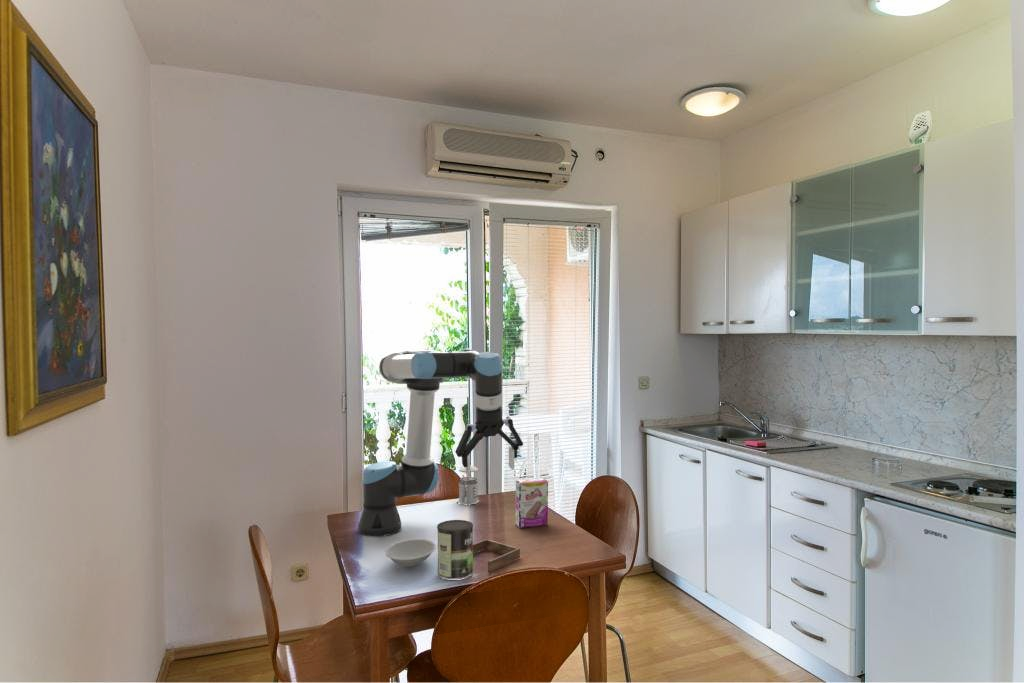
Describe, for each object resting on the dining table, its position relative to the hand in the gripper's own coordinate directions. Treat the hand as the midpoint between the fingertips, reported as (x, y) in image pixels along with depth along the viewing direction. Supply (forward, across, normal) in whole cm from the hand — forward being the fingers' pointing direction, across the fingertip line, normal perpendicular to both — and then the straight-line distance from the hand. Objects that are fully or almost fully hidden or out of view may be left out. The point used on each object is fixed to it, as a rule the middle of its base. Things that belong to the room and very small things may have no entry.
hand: (490, 471), depth 174 cm
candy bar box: (+38, +22, +22) cm, 49 cm away
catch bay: (+28, -2, -3) cm, 28 cm away
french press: (+47, +8, +58) cm, 75 cm away
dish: (+27, -25, 0) cm, 37 cm away
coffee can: (+25, -14, -10) cm, 31 cm away
